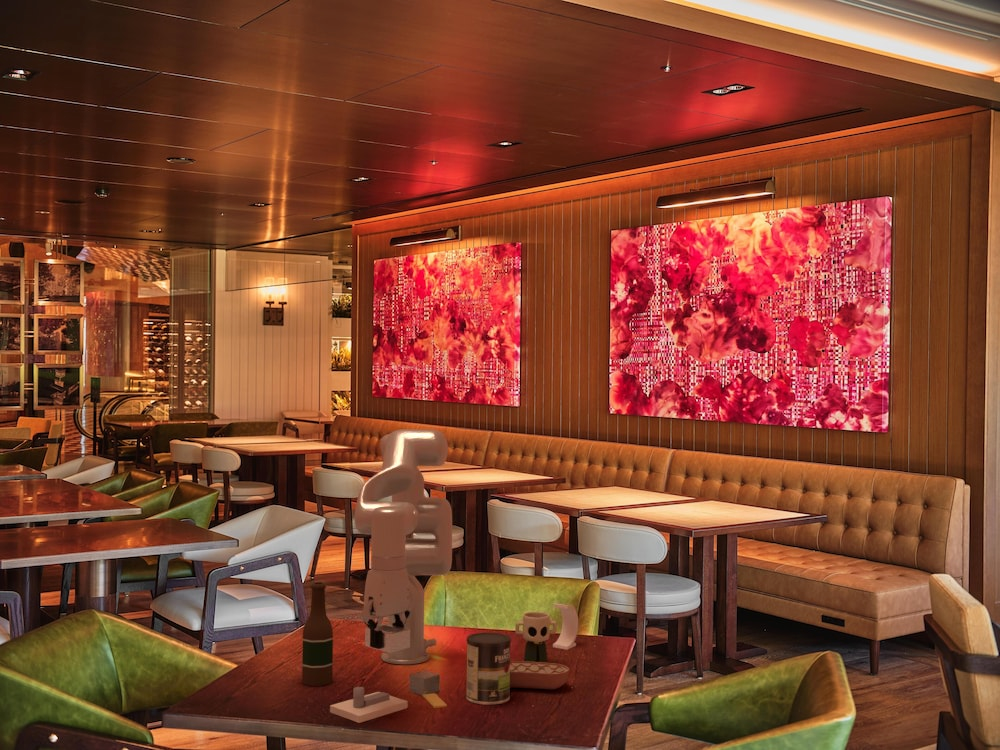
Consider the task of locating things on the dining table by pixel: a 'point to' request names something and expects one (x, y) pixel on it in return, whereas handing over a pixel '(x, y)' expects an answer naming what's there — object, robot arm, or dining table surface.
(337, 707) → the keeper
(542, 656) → the character mug
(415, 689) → the block
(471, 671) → the coffee can
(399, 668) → the dining table surface
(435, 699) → the yellow flat bar
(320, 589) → the beer bottle
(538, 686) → the mitochondrion model
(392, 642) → the link
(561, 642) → the headphone stand
